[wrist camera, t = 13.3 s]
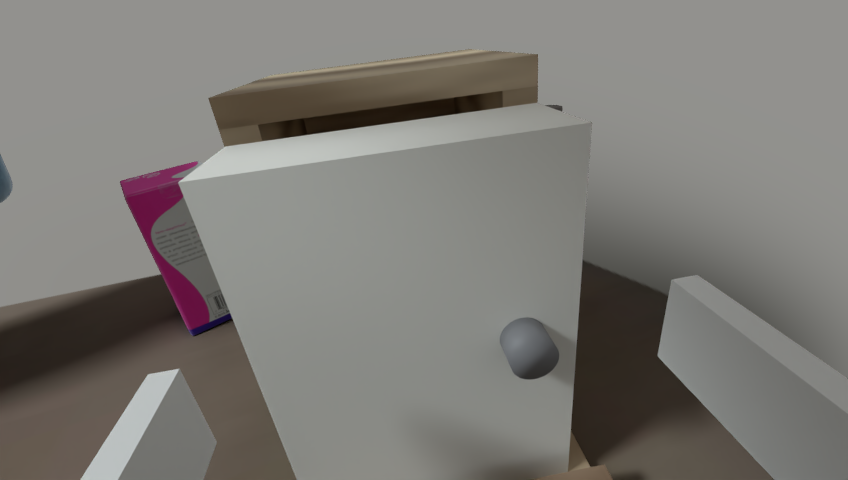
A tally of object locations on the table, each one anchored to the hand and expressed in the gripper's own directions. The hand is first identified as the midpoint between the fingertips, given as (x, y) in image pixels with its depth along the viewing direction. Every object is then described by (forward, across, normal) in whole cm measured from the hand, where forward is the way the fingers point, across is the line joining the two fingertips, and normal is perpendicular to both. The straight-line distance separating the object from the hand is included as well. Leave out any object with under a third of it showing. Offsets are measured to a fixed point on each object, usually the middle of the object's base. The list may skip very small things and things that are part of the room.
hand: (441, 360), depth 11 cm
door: (+4, 0, -10) cm, 11 cm away
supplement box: (+22, -16, -10) cm, 29 cm away
